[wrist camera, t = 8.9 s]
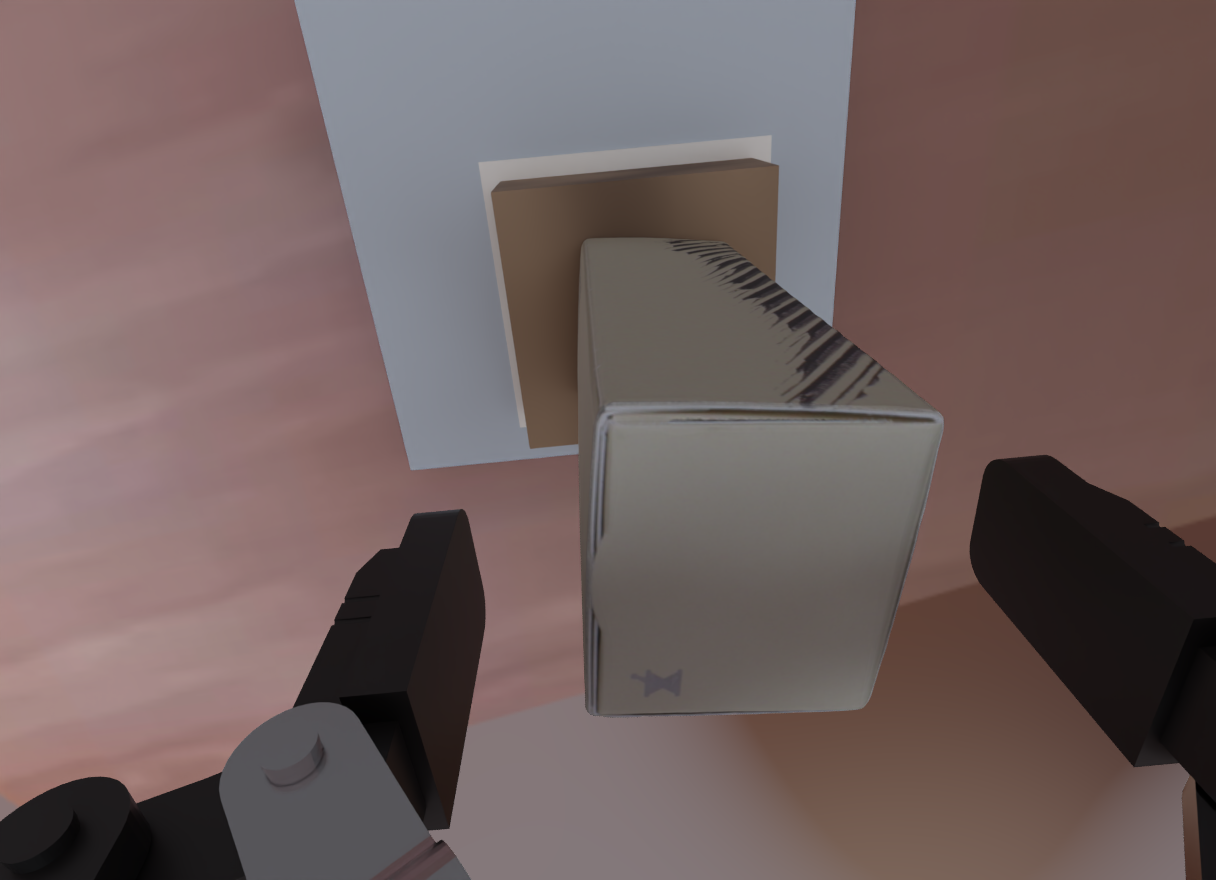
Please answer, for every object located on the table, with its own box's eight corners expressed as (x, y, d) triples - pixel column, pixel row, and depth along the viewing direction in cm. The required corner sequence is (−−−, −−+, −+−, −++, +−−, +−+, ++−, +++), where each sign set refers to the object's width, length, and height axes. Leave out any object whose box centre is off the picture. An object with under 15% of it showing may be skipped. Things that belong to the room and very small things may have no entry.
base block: (752, 157, 21) (779, 165, 18) (748, 390, 25) (771, 425, 22) (500, 181, 21) (490, 192, 18) (533, 411, 25) (529, 449, 22)
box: (710, 397, 21) (873, 734, 10) (573, 396, 21) (580, 740, 10) (729, 227, 19) (972, 413, 8) (575, 223, 19) (588, 410, 7)
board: (848, -77, 19) (863, -87, 18) (815, 418, 27) (825, 430, 26) (299, -28, 19) (284, -35, 18) (416, 458, 26) (410, 471, 25)
